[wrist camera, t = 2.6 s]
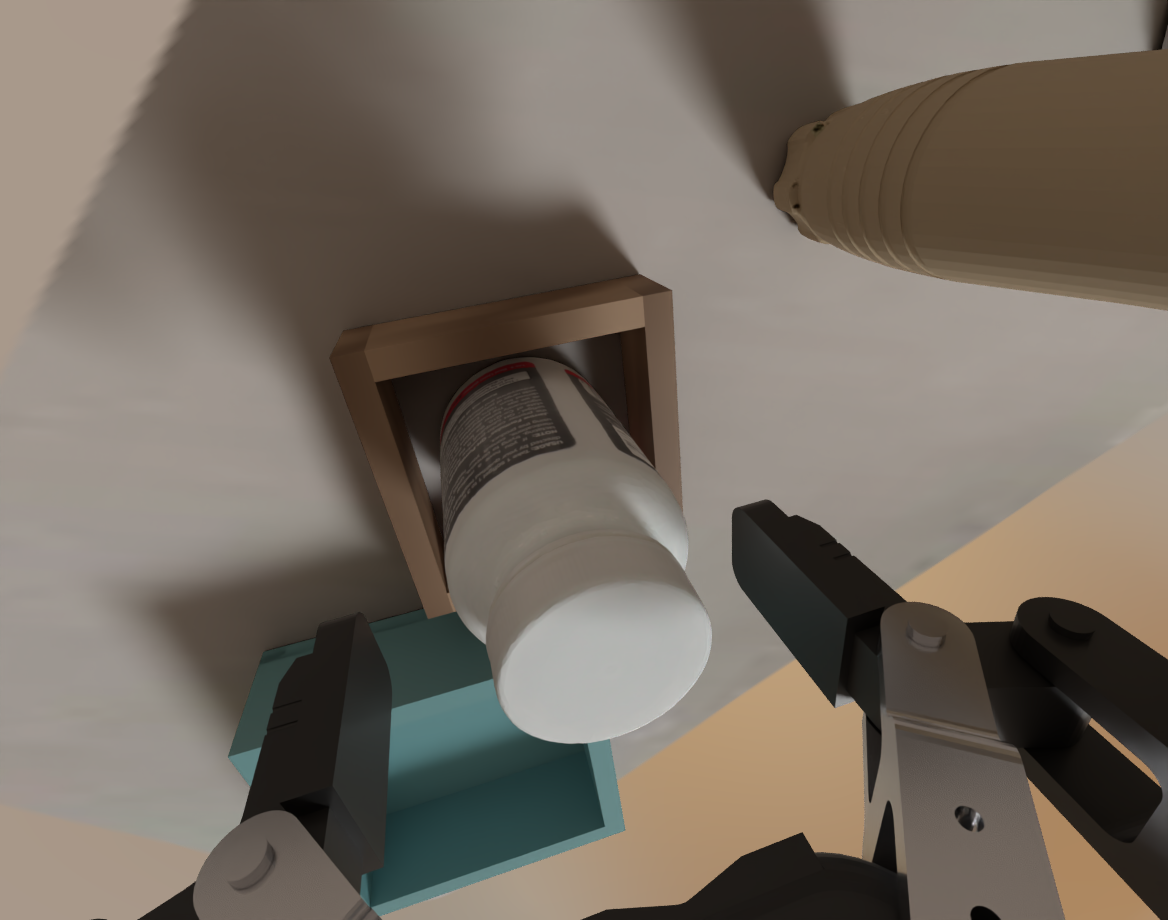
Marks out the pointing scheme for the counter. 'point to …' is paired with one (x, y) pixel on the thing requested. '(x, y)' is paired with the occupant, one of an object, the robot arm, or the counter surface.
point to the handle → (1000, 178)
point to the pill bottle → (566, 555)
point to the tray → (456, 767)
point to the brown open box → (490, 333)
